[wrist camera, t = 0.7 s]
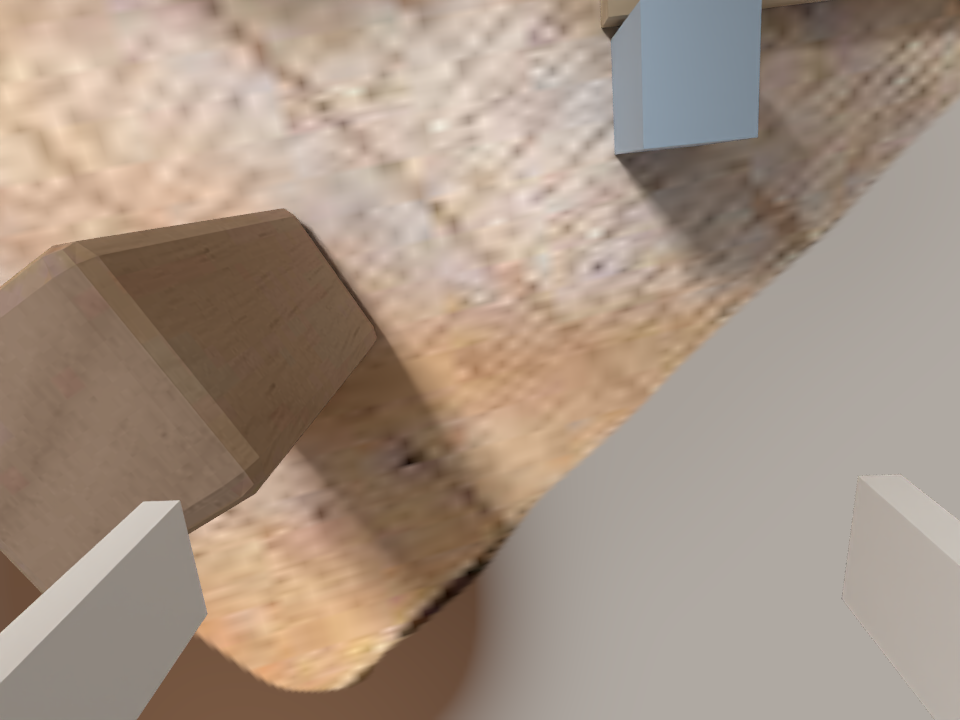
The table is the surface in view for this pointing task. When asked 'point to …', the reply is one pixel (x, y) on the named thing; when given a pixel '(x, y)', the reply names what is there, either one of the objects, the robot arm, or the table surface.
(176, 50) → the table surface
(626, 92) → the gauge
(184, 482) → the block
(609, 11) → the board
